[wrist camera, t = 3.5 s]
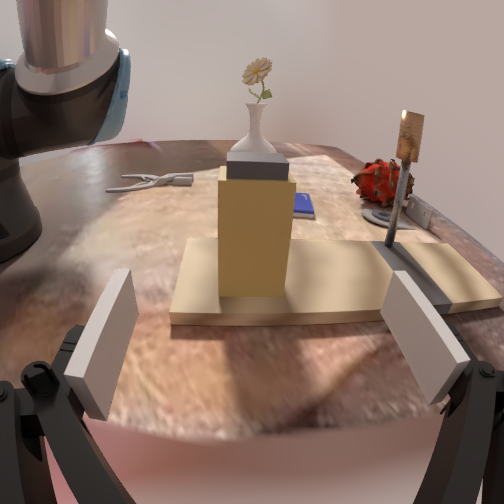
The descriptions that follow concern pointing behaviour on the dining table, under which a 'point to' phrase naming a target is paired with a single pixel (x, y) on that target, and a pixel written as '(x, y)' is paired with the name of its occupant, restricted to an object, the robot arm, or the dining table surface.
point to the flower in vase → (255, 110)
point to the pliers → (156, 181)
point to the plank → (329, 284)
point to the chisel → (404, 164)
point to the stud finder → (254, 224)
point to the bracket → (415, 213)
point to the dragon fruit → (380, 182)
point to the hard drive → (303, 206)
